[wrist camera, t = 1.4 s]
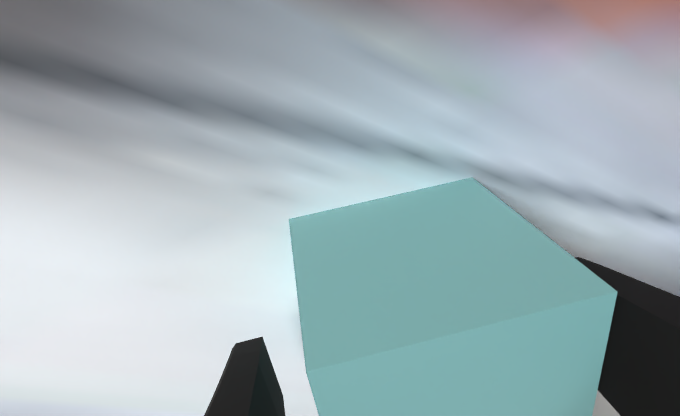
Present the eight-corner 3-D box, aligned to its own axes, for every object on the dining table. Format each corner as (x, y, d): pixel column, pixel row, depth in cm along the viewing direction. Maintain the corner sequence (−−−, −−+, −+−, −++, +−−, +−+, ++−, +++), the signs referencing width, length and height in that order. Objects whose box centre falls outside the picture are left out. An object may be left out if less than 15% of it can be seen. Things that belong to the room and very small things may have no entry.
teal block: (471, 176, 11) (617, 291, 6) (472, 315, 13) (580, 472, 8) (288, 217, 10) (306, 372, 6) (323, 353, 13) (355, 538, 8)
